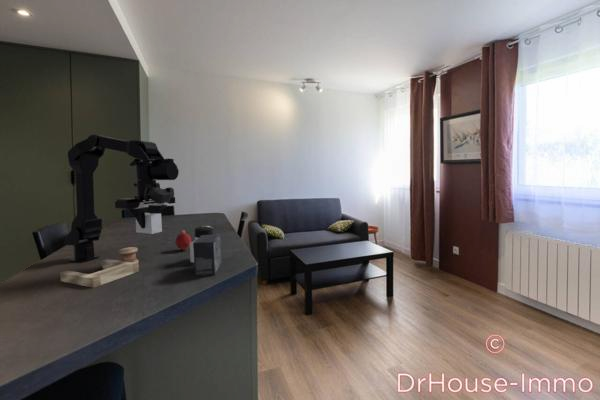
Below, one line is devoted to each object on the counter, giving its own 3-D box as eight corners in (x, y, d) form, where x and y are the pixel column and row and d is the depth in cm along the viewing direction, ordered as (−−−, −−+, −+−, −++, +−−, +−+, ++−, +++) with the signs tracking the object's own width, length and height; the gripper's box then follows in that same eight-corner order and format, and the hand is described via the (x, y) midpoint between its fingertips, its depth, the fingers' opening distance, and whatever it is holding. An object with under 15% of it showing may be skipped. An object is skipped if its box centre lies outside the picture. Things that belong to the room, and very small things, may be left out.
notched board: (60, 281, 84) (60, 272, 84) (108, 266, 97) (107, 259, 97) (93, 287, 79) (92, 278, 78) (139, 271, 92) (138, 263, 91)
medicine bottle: (209, 264, 98) (207, 229, 97) (190, 263, 100) (188, 228, 99) (219, 258, 105) (218, 225, 104) (201, 257, 107) (199, 224, 106)
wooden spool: (115, 265, 98) (114, 250, 97) (130, 260, 103) (129, 246, 103) (127, 267, 96) (126, 252, 95) (142, 262, 101) (141, 248, 101)
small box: (202, 265, 97) (200, 234, 96) (222, 264, 98) (221, 233, 97) (193, 276, 87) (191, 241, 86) (215, 275, 87) (214, 241, 86)
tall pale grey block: (136, 232, 96) (135, 214, 96) (146, 230, 100) (145, 212, 99) (151, 233, 94) (151, 215, 93) (162, 231, 97) (161, 213, 97)
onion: (188, 252, 113) (187, 232, 113) (173, 252, 113) (172, 232, 113) (193, 248, 119) (193, 229, 118) (179, 248, 119) (178, 229, 118)
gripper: (139, 181, 84) (142, 234, 85) (186, 179, 101) (188, 224, 102) (112, 180, 88) (115, 231, 89) (162, 179, 105) (164, 222, 107)
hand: (148, 227), depth 97 cm, fingers closed on tall pale grey block, 4 cm apart
